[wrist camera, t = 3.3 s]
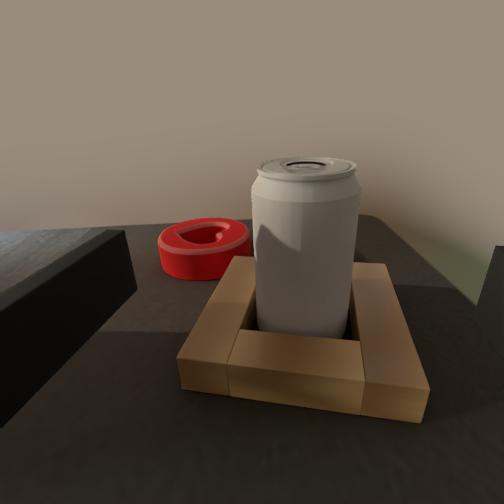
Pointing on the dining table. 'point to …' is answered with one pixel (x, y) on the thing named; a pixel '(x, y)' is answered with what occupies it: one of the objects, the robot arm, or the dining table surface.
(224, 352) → the can stand
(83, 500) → the dining table surface
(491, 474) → the dining table surface
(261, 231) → the beverage can
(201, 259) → the decorative ornament
